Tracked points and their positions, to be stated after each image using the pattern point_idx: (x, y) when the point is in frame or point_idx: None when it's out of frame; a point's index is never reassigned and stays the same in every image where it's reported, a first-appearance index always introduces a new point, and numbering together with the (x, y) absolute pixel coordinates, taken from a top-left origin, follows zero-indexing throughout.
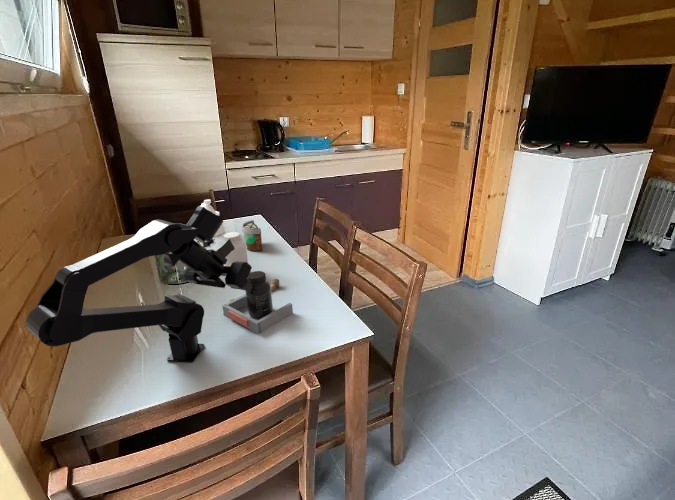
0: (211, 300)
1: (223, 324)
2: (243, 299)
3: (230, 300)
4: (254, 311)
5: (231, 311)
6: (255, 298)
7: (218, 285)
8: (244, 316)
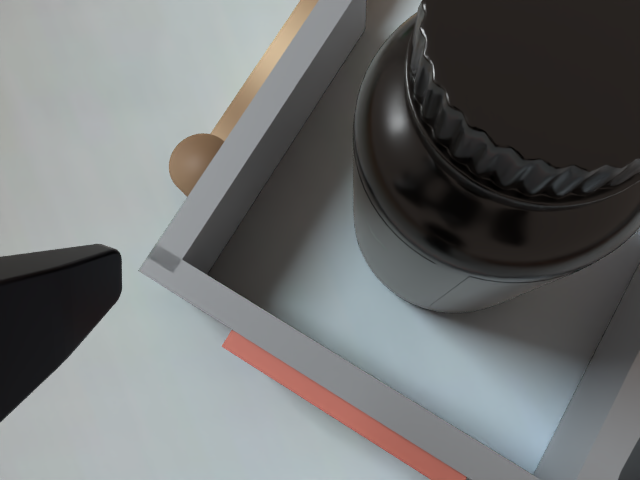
0: (4, 108)
1: (218, 417)
2: (276, 128)
3: (172, 161)
4: (453, 308)
5: (255, 350)
6: (517, 291)
7: (27, 373)
8: (415, 433)
